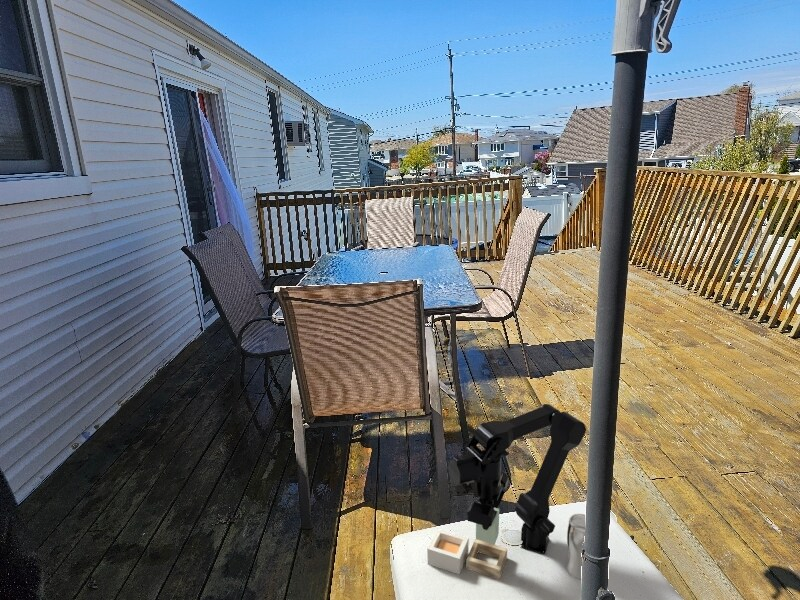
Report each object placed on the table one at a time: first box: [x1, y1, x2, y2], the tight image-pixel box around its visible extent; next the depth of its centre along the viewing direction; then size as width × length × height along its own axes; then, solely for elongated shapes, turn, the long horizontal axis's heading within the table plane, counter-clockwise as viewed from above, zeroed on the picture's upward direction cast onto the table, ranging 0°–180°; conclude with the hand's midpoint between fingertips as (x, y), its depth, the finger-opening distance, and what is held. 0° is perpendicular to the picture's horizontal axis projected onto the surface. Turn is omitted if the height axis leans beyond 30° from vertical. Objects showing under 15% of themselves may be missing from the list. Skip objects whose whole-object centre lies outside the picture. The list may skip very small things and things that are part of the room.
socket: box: [426, 528, 470, 575], centre depth 136 cm, size 9×8×5 cm
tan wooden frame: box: [465, 538, 508, 580], centre depth 134 cm, size 9×8×3 cm
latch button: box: [437, 540, 460, 554], centre depth 136 cm, size 6×5×1 cm
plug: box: [475, 504, 500, 545], centre depth 131 cm, size 5×4×10 cm
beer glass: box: [565, 513, 586, 580], centre depth 129 cm, size 7×7×15 cm
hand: (487, 523), depth 131 cm, fingers closed on plug, 4 cm apart
